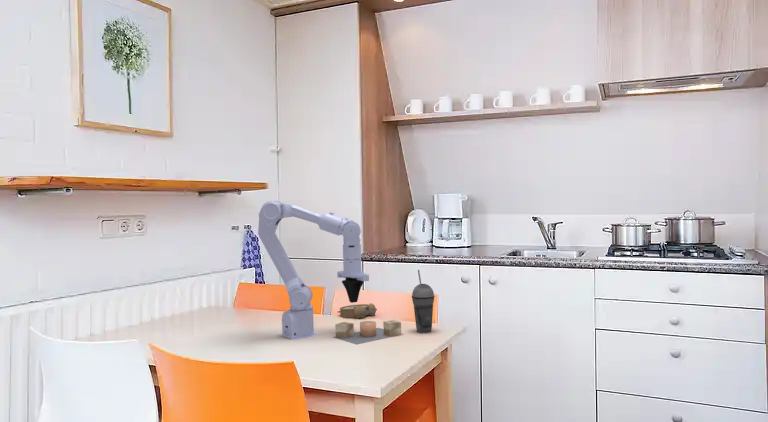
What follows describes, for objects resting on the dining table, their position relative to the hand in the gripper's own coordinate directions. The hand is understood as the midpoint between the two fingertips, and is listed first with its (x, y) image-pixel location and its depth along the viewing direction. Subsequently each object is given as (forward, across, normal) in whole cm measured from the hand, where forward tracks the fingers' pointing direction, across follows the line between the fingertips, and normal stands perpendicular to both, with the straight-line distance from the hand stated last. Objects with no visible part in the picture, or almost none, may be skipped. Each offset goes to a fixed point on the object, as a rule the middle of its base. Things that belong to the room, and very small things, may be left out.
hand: (353, 302), depth 187 cm
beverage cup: (+10, -14, -17) cm, 24 cm away
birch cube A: (+10, -2, +5) cm, 11 cm away
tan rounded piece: (+10, -6, -1) cm, 12 cm away
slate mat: (+10, -6, -1) cm, 12 cm away
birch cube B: (+10, -11, -7) cm, 16 cm away
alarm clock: (+11, +24, -19) cm, 32 cm away
